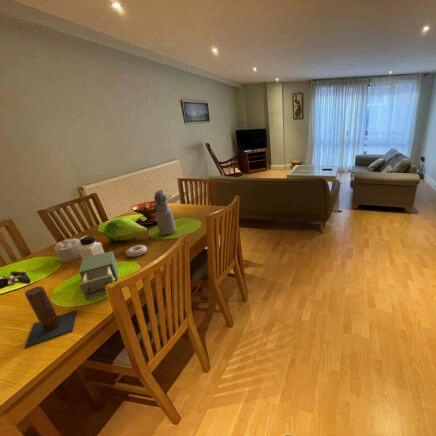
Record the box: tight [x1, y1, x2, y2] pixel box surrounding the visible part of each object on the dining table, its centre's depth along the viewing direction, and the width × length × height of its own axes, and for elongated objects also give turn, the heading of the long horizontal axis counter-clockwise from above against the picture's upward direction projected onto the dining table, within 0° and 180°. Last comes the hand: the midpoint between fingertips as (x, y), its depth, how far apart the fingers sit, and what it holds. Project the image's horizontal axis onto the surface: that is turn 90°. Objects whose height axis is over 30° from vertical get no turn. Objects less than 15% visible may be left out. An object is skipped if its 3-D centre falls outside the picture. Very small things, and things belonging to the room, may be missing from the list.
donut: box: [125, 244, 148, 258], centre depth 133 cm, size 10×4×10 cm
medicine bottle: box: [78, 235, 105, 259], centre depth 129 cm, size 7×7×12 cm
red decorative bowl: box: [130, 195, 172, 225], centre depth 176 cm, size 28×24×16 cm
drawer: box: [79, 265, 115, 301], centre depth 102 cm, size 17×10×8 cm, turn 35°
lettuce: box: [103, 217, 148, 243], centre depth 148 cm, size 15×22×15 cm
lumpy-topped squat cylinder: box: [53, 237, 82, 263], centre depth 130 cm, size 10×13×9 cm
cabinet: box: [78, 250, 119, 282], centre depth 111 cm, size 14×12×10 cm
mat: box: [24, 309, 78, 349], centre depth 86 cm, size 12×12×1 cm
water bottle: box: [153, 189, 177, 236], centre depth 154 cm, size 10×10×28 cm
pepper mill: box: [24, 286, 61, 332], centre depth 83 cm, size 4×4×16 cm
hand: (13, 288), depth 81 cm, fingers open, 8 cm apart
